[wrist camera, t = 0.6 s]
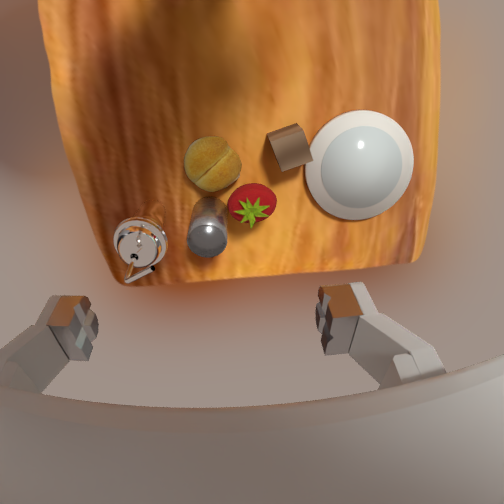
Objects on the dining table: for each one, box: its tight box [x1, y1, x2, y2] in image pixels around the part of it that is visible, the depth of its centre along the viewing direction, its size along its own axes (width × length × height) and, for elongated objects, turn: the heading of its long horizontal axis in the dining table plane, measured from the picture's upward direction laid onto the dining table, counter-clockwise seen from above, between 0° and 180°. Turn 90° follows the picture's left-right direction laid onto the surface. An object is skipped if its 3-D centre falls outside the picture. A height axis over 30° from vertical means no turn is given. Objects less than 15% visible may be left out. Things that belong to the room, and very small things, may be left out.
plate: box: [305, 110, 414, 220], centre depth 51 cm, size 20×20×1 cm
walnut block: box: [267, 123, 313, 172], centre depth 46 cm, size 5×5×5 cm
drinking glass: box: [187, 197, 227, 257], centre depth 51 cm, size 6×6×9 cm
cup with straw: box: [114, 199, 168, 283], centre depth 46 cm, size 8×9×20 cm
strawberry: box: [227, 183, 277, 228], centre depth 49 cm, size 6×8×10 cm
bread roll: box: [184, 136, 241, 192], centre depth 47 cm, size 8×9×4 cm
